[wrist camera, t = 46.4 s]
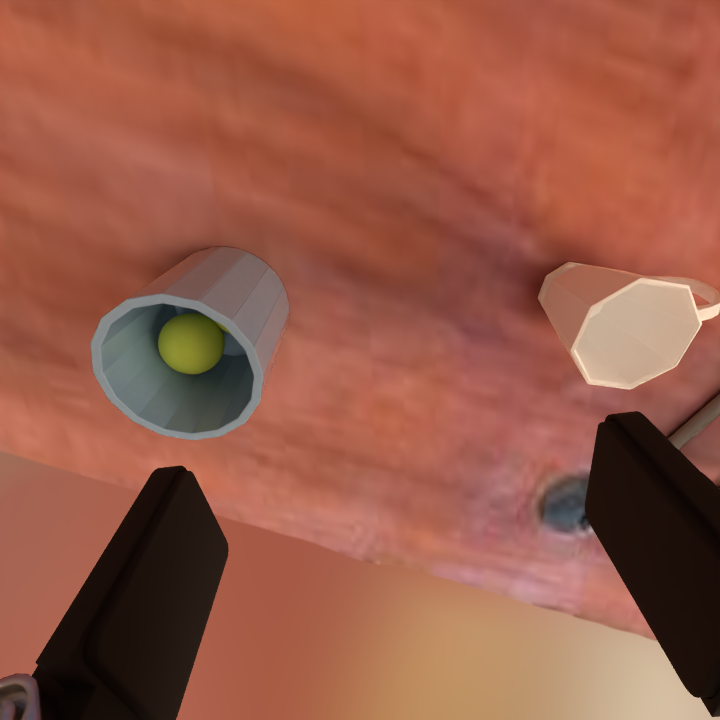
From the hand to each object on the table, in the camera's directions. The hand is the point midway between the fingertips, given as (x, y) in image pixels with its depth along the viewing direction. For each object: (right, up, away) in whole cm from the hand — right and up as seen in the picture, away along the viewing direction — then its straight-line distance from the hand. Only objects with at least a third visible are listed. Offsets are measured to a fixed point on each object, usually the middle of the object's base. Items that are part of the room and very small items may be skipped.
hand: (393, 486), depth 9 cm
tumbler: (-10, +7, +20) cm, 24 cm away
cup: (+16, +8, +20) cm, 27 cm away
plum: (-10, +4, +15) cm, 19 cm away
